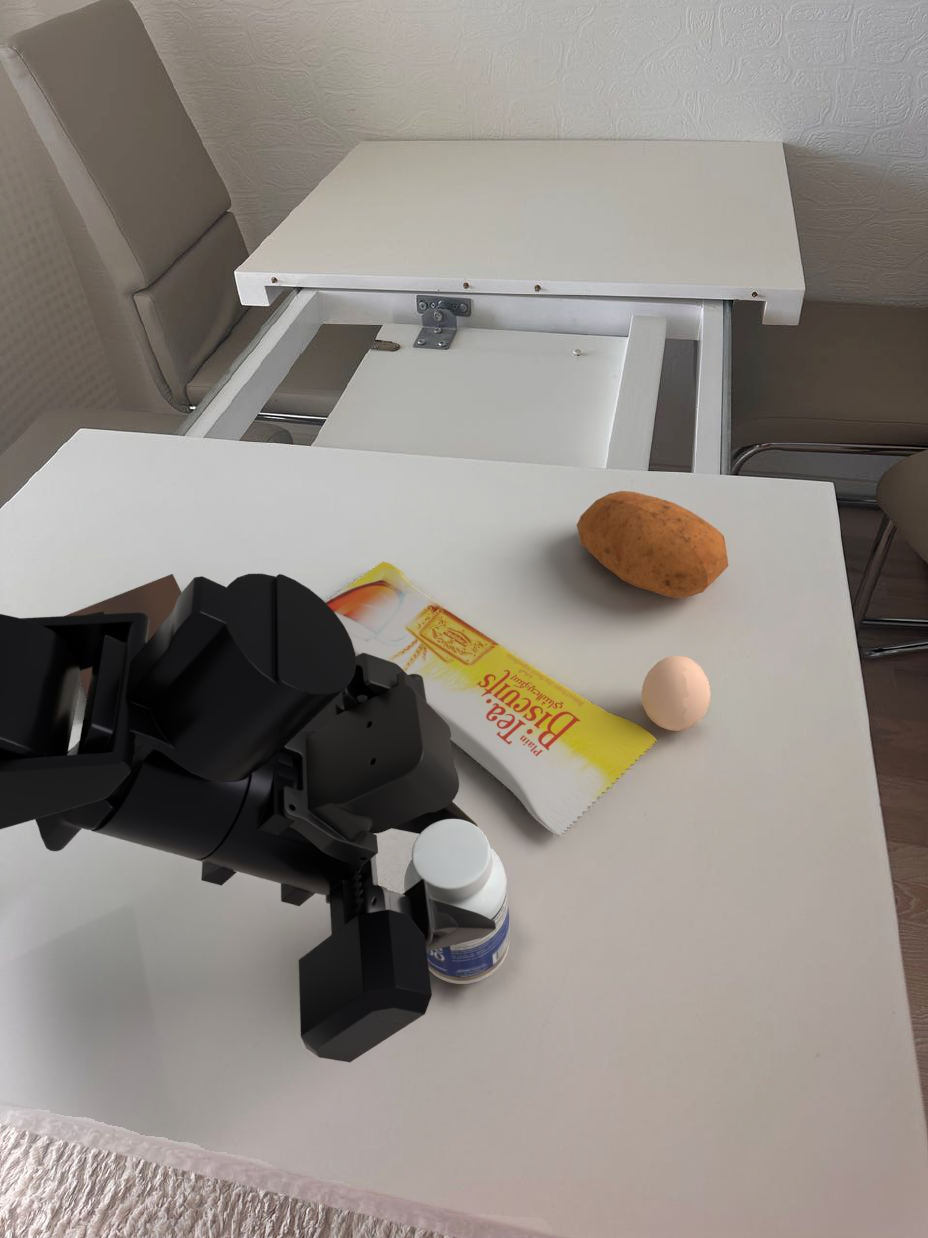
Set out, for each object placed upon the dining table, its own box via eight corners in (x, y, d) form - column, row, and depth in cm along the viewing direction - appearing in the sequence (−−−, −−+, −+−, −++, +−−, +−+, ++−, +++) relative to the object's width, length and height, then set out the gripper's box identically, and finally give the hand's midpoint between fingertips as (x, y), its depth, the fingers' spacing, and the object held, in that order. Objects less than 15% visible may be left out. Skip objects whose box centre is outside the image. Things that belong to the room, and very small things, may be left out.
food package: (661, 728, 61) (559, 829, 57) (658, 749, 63) (560, 848, 59) (382, 548, 76) (283, 617, 71) (386, 569, 78) (290, 637, 73)
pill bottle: (403, 920, 56) (381, 830, 49) (487, 884, 57) (477, 791, 50) (438, 1003, 52) (420, 919, 45) (526, 963, 53) (522, 875, 46)
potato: (680, 637, 70) (672, 569, 65) (566, 561, 78) (551, 496, 73) (747, 583, 72) (745, 513, 67) (629, 515, 80) (619, 448, 75)
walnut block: (99, 721, 69) (84, 694, 67) (73, 644, 75) (58, 617, 72) (217, 670, 71) (206, 643, 69) (183, 600, 77) (172, 573, 75)
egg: (701, 693, 66) (710, 637, 62) (710, 745, 63) (719, 690, 59) (636, 694, 66) (641, 639, 62) (642, 746, 63) (647, 691, 59)
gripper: (337, 904, 31) (644, 988, 39) (316, 538, 44) (550, 660, 53) (165, 1039, 36) (469, 1088, 45) (192, 676, 49) (423, 767, 58)
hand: (481, 880), depth 50 cm, fingers closed on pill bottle, 5 cm apart
